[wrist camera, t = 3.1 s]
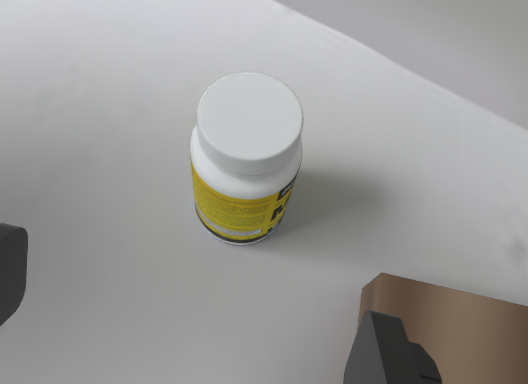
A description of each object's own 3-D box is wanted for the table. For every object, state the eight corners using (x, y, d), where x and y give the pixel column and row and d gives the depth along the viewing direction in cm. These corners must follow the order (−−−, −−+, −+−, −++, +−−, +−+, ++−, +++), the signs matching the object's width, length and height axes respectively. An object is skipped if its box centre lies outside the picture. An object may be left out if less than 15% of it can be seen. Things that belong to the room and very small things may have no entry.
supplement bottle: (279, 253, 24) (309, 180, 16) (187, 240, 24) (174, 161, 16) (287, 170, 26) (317, 71, 18) (203, 158, 26) (197, 54, 18)
